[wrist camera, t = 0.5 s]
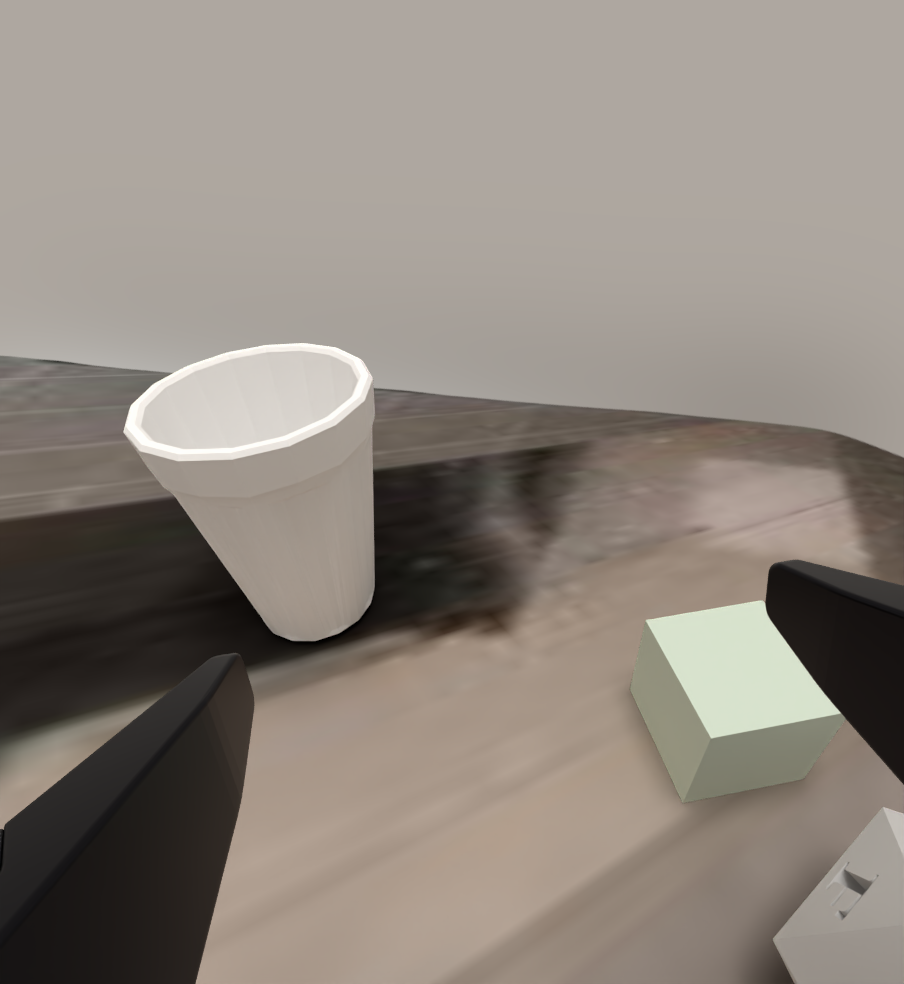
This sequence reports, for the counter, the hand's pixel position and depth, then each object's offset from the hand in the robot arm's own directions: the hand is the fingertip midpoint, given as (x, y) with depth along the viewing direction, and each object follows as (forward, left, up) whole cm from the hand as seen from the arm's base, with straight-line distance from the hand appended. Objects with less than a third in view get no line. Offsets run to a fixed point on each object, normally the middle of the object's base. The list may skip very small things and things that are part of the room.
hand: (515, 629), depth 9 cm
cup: (+16, +7, -16) cm, 23 cm away
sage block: (+5, -10, -16) cm, 19 cm away
